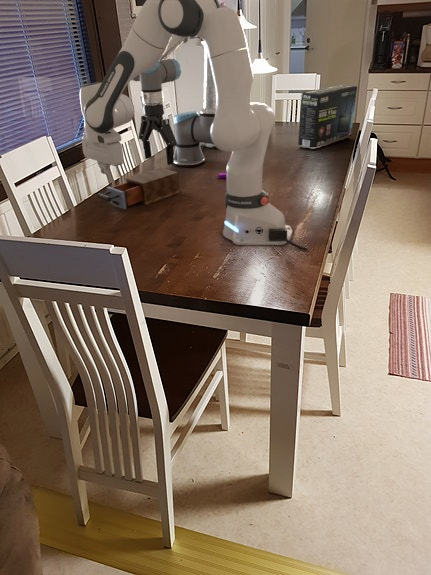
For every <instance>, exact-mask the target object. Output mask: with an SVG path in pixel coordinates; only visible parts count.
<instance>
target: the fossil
mask: <svg viewBox="0 0 431 575" xmlns="http://www.w3.org/2000/svg"><path fill="white" fill-rule="evenodd" d="M204 145H205V146H206V147H207V148H216V149H218V148H217V147H216V146H215V145H214V144H210V143H200V147H203V146H204ZM218 150H219V149H218Z"/></svg>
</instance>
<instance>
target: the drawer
mask: <svg viewBox="0 0 431 575" xmlns="http://www.w3.org/2000/svg"><path fill="white" fill-rule="evenodd" d="M96 197H97V198H99V199H101V200H102V201H106V202H108V204H110V205H112V206H114V207H117V208H119V209H122V210H126V209H127V207H130V206H132V205H135V204H138V203H139V202H141V201H144V198H143V190H142V185H139V184H136V183H133V182H130V181H129V182H126V181H125V182H123V183H119V184H117V185H113V187H112V186H106V192H104V193H100V192H98V193H97V194H96Z"/></svg>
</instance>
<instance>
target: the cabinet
mask: <svg viewBox="0 0 431 575" xmlns="http://www.w3.org/2000/svg"><path fill="white" fill-rule="evenodd" d="M179 180H180V179H179V172H178V171H174V170H172V169H171V170H170V169H167V168H163V167H157V168H154V169H152V170H151V169H150V170H148V171H145V172H142V173H138V174H135V175H132V176H129V177H126V178H125V183H126V182H129V181H130V182H133V183H136V184H139V185H142V190H143V198H144V201H141V202H138V203H139V204H142V205H144V206H145V205H149V204H152V203H155V202H158V201H161V200H164V199H167V198H168V197H172V196H174V195H176V194H177V195H178V194H180V193H181V191H180V182H179Z"/></svg>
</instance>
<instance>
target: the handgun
mask: <svg viewBox="0 0 431 575" xmlns="http://www.w3.org/2000/svg"><path fill="white" fill-rule="evenodd" d="M217 178H218V179H226V172H225V173H224V172H223V173H221V172H220V173H217Z"/></svg>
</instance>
